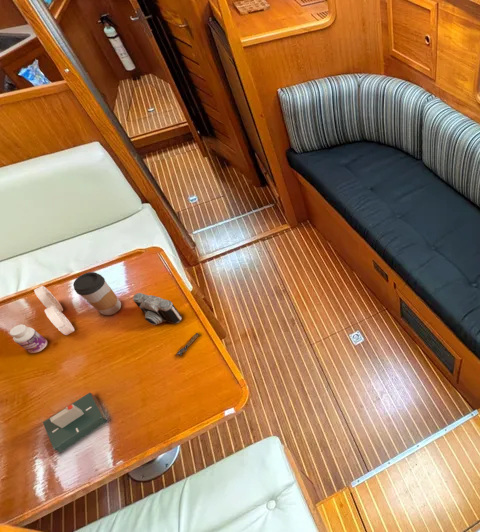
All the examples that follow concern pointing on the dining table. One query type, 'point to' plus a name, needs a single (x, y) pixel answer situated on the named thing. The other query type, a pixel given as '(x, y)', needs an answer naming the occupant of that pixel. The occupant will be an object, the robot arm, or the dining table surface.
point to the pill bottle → (28, 338)
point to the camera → (157, 309)
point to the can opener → (188, 344)
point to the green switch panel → (76, 424)
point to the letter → (54, 310)
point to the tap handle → (66, 416)
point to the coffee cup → (97, 293)
